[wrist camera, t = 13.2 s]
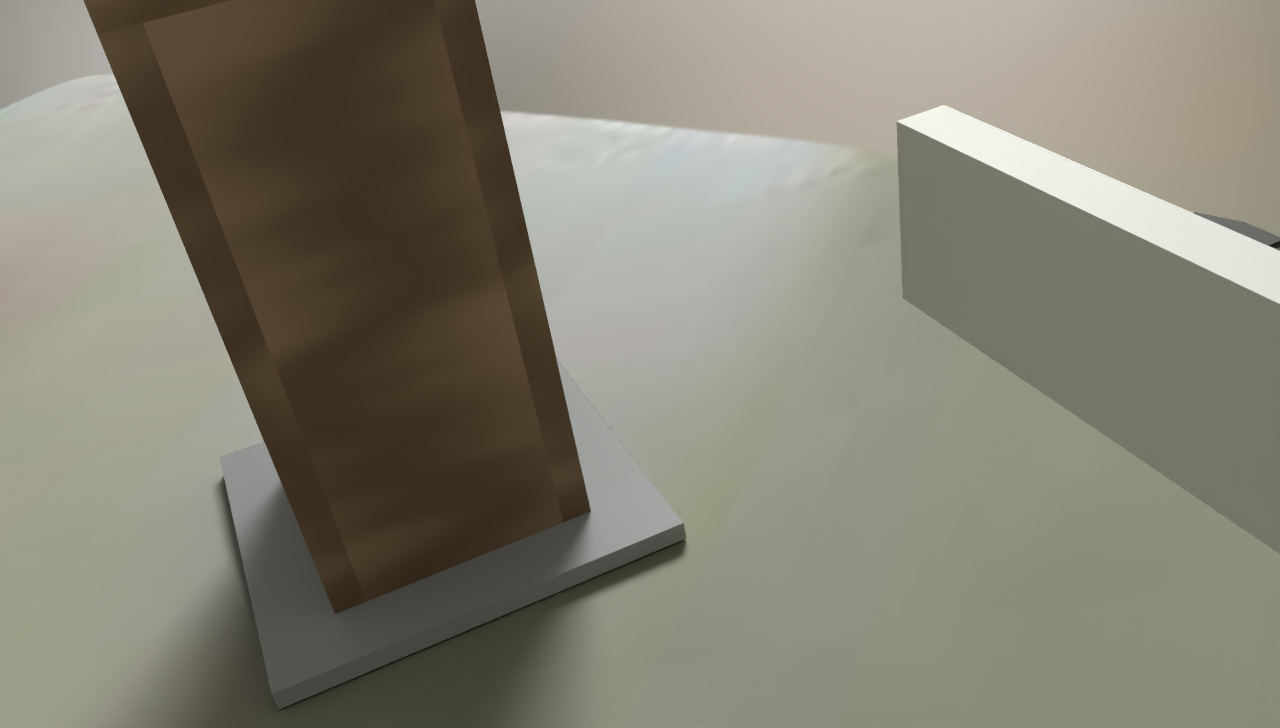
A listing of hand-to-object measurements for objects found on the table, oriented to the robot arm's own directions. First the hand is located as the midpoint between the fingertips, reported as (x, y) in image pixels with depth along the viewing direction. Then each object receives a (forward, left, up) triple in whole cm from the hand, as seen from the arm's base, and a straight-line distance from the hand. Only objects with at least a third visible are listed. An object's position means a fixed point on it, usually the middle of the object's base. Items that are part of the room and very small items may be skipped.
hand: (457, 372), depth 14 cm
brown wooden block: (-6, +5, -7) cm, 11 cm away
